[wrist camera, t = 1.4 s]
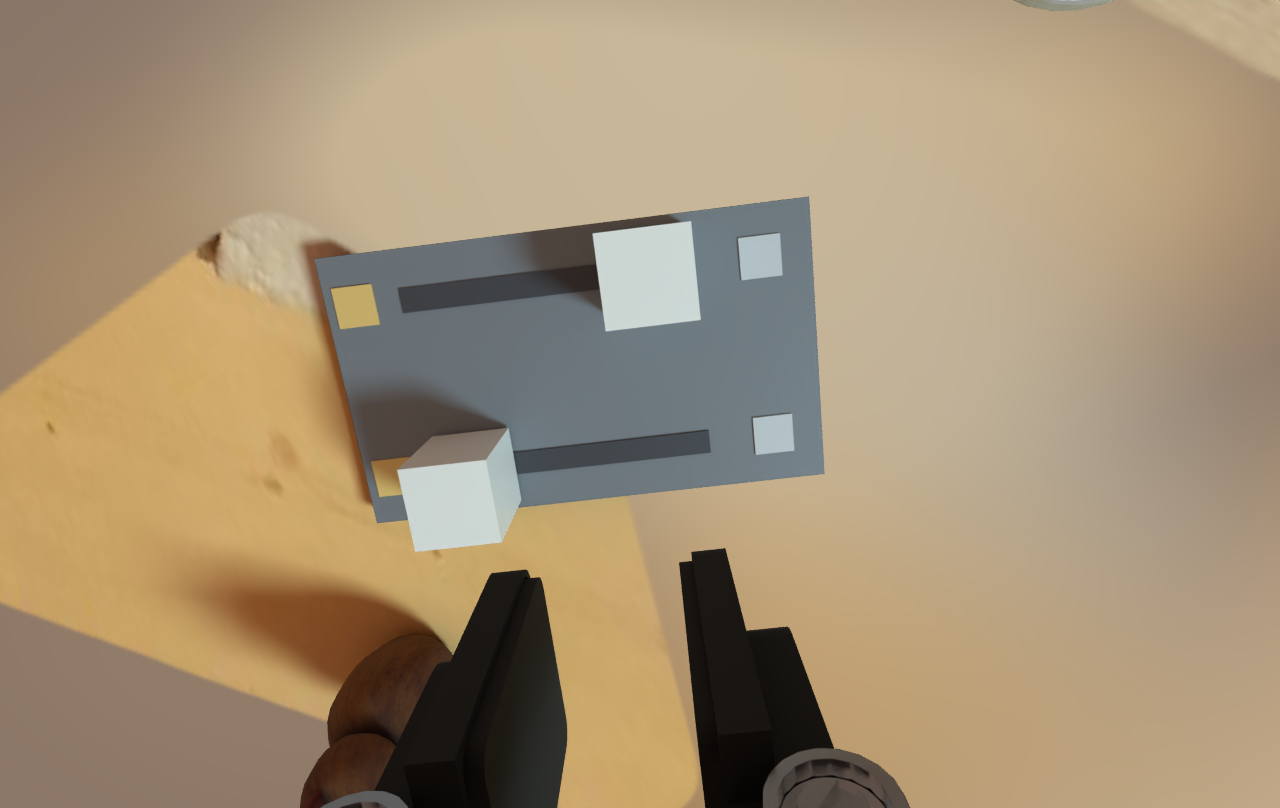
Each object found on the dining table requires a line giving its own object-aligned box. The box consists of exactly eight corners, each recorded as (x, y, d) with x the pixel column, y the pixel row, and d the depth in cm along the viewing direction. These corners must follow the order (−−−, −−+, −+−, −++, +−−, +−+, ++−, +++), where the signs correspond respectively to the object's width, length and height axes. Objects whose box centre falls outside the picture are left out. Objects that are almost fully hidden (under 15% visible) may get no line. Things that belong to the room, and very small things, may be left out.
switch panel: (801, 198, 33) (809, 196, 31) (817, 464, 36) (824, 474, 35) (328, 257, 34) (313, 259, 32) (387, 511, 37) (376, 523, 35)
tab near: (684, 223, 31) (691, 221, 27) (692, 307, 32) (701, 320, 27) (600, 233, 32) (592, 233, 27) (611, 317, 32) (605, 331, 28)
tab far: (508, 427, 34) (485, 459, 29) (521, 499, 35) (501, 542, 30) (432, 436, 34) (397, 469, 29) (447, 508, 35) (415, 551, 30)
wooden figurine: (358, 627, 39) (187, 861, 24) (452, 606, 38) (334, 832, 24) (396, 722, 40) (257, 995, 26) (486, 703, 40) (396, 969, 26)
